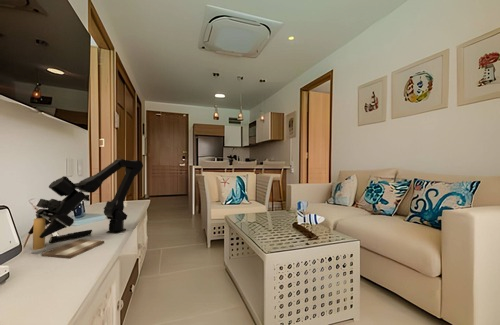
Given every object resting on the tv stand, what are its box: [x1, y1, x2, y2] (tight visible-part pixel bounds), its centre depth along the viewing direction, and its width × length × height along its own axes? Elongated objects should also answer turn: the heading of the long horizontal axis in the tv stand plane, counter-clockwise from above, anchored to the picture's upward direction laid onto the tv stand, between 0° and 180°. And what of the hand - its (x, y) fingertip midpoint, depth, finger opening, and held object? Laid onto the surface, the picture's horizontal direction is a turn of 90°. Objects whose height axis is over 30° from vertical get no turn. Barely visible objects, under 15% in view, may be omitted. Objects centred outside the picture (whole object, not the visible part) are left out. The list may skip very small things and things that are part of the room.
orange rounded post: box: [30, 218, 47, 255], centre depth 84 cm, size 4×4×13 cm
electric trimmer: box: [48, 229, 93, 245], centre depth 100 cm, size 4×16×3 cm, turn 141°
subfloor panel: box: [40, 238, 105, 259], centre depth 88 cm, size 16×12×1 cm
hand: (34, 235), depth 83 cm, fingers open, 9 cm apart
